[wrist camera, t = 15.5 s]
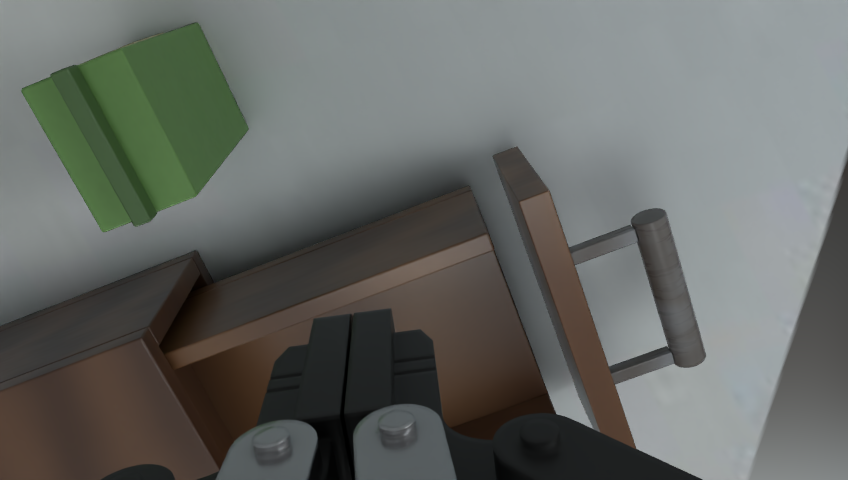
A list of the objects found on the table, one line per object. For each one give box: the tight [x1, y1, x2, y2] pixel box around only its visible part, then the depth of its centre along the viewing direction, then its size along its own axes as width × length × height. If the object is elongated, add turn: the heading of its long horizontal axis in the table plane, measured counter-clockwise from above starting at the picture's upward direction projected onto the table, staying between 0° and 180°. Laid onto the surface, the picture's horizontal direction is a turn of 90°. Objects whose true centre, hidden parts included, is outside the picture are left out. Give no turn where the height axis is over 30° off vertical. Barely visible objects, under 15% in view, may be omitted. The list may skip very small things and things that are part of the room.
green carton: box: [21, 23, 248, 232], centre depth 28 cm, size 5×3×11 cm, turn 21°
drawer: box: [159, 147, 706, 458], centre depth 33 cm, size 23×14×7 cm, turn 111°
